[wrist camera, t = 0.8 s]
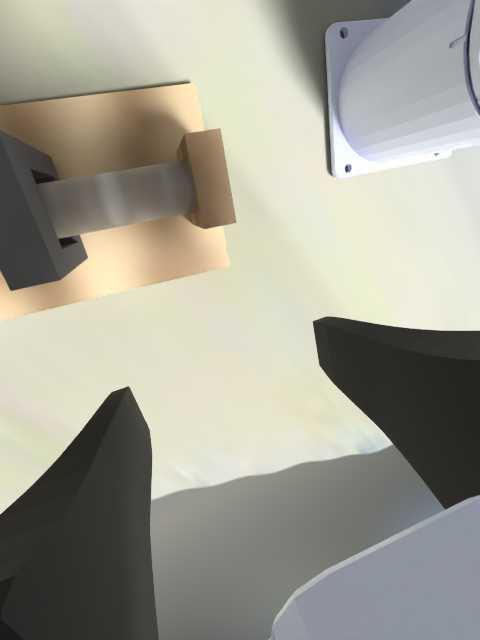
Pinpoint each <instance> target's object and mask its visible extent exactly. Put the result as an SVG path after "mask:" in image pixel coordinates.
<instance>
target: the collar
mask: <svg viewBox="0 0 480 640" xmlns="http://www.w3.org/2000/svg"><path fill="white" fill-rule="evenodd" d="M58 180H59V178H58V175H57V172H56V169H55V167H54V164H53V161H52V159H51V156H49V155H47V154H45V153H43V152H41V151H39V150H37V149H35V148H33V147H32V146H30V145H28V144H26V143H24V142H22V141H20V140H18V139H16V138H14V137H12V136H10V135H8V134H6V133H5V132H3V131H1V130H0V271H1V273H2V275H3V277H4V279H5V281H6V283H7V285H8V287H9V289H10V291H14V290H18V289H23V288H27V287H32V286H36V285H41V284H45V283H50V282H55V281H59V280H61V279H62V278H64V277H65V276H66V275H68V274H69V273H70V272H71V271H73V270H74V269H75V268H76V267H78V266H79V265H80V264H81V263H83V262H84V261H85V260H86V259H88V256H87V253H86V250H85V248H84V245H83V242H82V239H81V237H80V235H75V236H70V237H65V238H60V239H58V237H57V235H56V232H55V230H54V227H53V225H52V222H51V220H50V217H49V215H48V212H47V210H46V207H45V205H44V202H43V200H42V197H41V195H40V192H39V190H38V187H37V185H36V184H40V183H46V182H52V181H58Z"/></svg>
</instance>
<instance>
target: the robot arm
mask: <svg viewBox="0 0 480 640" xmlns="http://www.w3.org/2000/svg"><path fill="white" fill-rule="evenodd" d="M340 31H342V32H343V33H344V39H343V38H342V37H341V36H340ZM325 44H326V64H327V84H328V104H329V124H330V144H331V164H332V174H333V176H334V177H335V178H344V177H349V176H355V175H360V174H365V173H370V172H375V171H380V170H386V169H391V168H396V167H401V166H406V165H411V164H417V163H422V162H427V161H432V160H437V159H442V158H447V157H449V156H450V155H451V154H452V152H453V150H455V149H461V148H466V147H471V146H476V145H480V0H411V1H410V2H409V3H407V4H406V5H405V6H404V7H402V8H401V9H400V10H399V11H397V12H396V13H395V14H394V15H392V16H391V17H390V18H383V19H371V20H360V21H348V22H337V23H333V24H332V25H331V26H330V27H329V28H328V29H327V31H326V34H325ZM346 165H347V166H348V171H347V173H346V171H345V166H346ZM313 326H314V333H315V339H316V345H317V352H318V358H319V365H320V366H321V368H322V369H323V370H324V372H325V373H326V375H327V376H328V377H329V378H330V380H331V381H332V382H333V383H334V384H335V385H336V386H337V387H338V388H339V389H340V390H341V391H342V392H343V393H344V394H345V395H346V396H347V397H348V398H349V399H350V400H351V401H352V402H353V403H354V404H355V405H356V406H357V407H358V408H359V409H361V410H362V411H363V412H364V413H365V414H366V415H367V416H368V417H369V418H370V419H371V420H372V421H373V422H374V423H375V424H376V425H377V426H378V427H379V428H380V429H381V430H382V431H383V432H384V433H385V435H386V436H387V437H388V438H389V439H390V440H391V442H392V443H393V444H394V445H395V446H396V447H397V449H398V450H399V451H400V452H401V453H402V454H403V456H404V457H405V458H406V460H407V461H408V462H409V463H410V464H411V466H412V467H413V468H414V469H415V471H416V472H417V473H418V474H419V476H420V477H421V478H422V479H423V481H424V482H425V483H426V485H427V486H428V487H429V488H430V490H431V491H432V493H433V494H434V495H435V496H436V498H437V499H438V500H439V502H440V503H441V504H442V506H443V507H444V508H445V510H444V511H442V512H440V513H438V514H436V515H434V516H432V517H430V518H428V519H426V520H424V521H422V522H420V523H418V524H416V525H414V526H412V527H410V528H408V529H406V530H404V531H402V532H400V533H398V534H396V535H394V536H392V537H390V538H388V539H386V540H384V541H382V542H380V543H378V544H376V545H374V546H372V547H370V548H368V549H366V550H364V551H362V552H360V553H358V554H356V555H354V556H352V557H350V558H348V559H346V560H344V561H342V562H340V563H338V564H336V565H334V566H332V567H330V568H328V569H326V570H325V571H323V572H322V573H320V574H319V575H318V576H316V577H315V578H313V579H312V580H310V581H309V582H308V583H306V584H305V585H303V586H302V587H300V588H299V589H297V590H296V591H295V592H294V594H293V595H292V596H291V598H290V599H289V600H288V601H287V603H286V604H285V606H284V607H283V608H282V609H281V611H280V612H279V613H278V615H277V616H276V618H275V621H274V624H273V627H272V636H271V638H270V639H268V640H480V331H437V330H421V329H409V328H401V327H393V326H386V325H379V324H373V323H367V322H362V321H356V320H350V319H345V318H338V317H324V318H321V319H318V320H315V321H313ZM151 478H152V448H151V438H150V430H149V428H148V425H147V423H146V421H145V419H144V417H143V415H142V413H141V411H140V409H139V406H138V404H137V402H136V400H135V398H134V396H133V394H132V392H131V389H130V387H129V386H128V387H125V388H123V389H120V390H117V391H114V392H112V393H111V394H110V395H109V396H108V397H107V398H106V399H105V401H104V402H103V403H102V405H101V406H100V407H99V409H98V410H97V411H96V412H95V414H94V415H93V416H92V418H91V419H90V420H89V422H88V423H87V424H86V425H85V427H84V428H83V429H82V431H81V432H80V433H79V434H78V436H77V437H76V438H75V439H74V440H73V441H72V443H71V444H70V445H69V446H68V447H67V449H66V450H65V451H64V452H63V453H62V455H61V456H60V457H59V458H58V459H57V460H56V461H55V462H54V463H53V465H52V466H51V467H50V468H49V469H48V470H47V471H46V472H45V473H44V474H43V475H42V476H41V477H40V478H39V479H38V480H37V481H36V482H35V483H34V484H33V485H32V486H31V487H30V488H29V489H28V490H27V491H26V492H25V493H24V494H23V495H22V496H20V497H19V498H18V499H17V500H16V501H15V502H14V503H13V504H12V505H10V506H9V507H8V508H7V509H6V510H5V511H4V512H3V513H2V514H0V640H159V638H158V628H157V618H156V608H155V596H154V585H153V572H152V558H151V542H150V503H151Z"/></svg>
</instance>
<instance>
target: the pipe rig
mask: <svg viewBox="0 0 480 640" xmlns="http://www.w3.org/2000/svg"><path fill="white" fill-rule="evenodd" d="M0 130H1V131H3V132H5V133H6V134H8V135H10V136H12V137H14V138H16V139H18V140H20V141H22V142H24V143H26V144H28V145H30V146H32V147H33V148H35V149H37V150H39V151H41V152H43V153H45V154H47V155H49V156H51V159H52V161H53V164H54V167H55V169H56V172H57V175H58V178H59V180H58V181H52V182H46V183H40V184H36V185H37V187H38V190H39V192H40V195H41V197H42V200H43V202H44V205H45V207H46V210H47V212H48V215H49V217H50V220H51V222H52V225H53V227H54V230H55V232H56V235H57V237H58V239H60V238H65V237H70V236H75V235H80V237H81V239H82V242H83V245H84V248H85V250H86V253H87V256H88V259H86V260H85V261H84V262H83V263H81V264H80V265H79V266H78V267H76V268H75V269H74V270H73V271H71V272H70V273H69V274H68V275H66V276H65V277H64V278H62V279H61V280H59V281H55V282H50V283H45V284H41V285H36V286H32V287H27V288H23V289H18V290H14V291H10V289H9V287H8V285H7V283H6V281H5V279H4V277H3V275H2V273H1V271H0V320H4V319H9V318H13V317H17V316H21V315H25V314H30V313H34V312H38V311H42V310H47V309H51V308H55V307H59V306H64V305H68V304H72V303H76V302H80V301H85V300H89V299H93V298H97V297H102V296H106V295H110V294H114V293H119V292H123V291H127V290H131V289H135V288H140V287H144V286H148V285H152V284H157V283H161V282H165V281H169V280H174V279H178V278H182V277H186V276H190V275H195V274H199V273H203V272H207V271H212V270H216V269H220V268H224V267H228V266H230V262H229V257H228V251H227V246H226V241H225V236H224V230H223V225H228V224H232V223H236V217H235V211H234V206H233V200H232V194H231V188H230V182H229V176H228V171H227V165H226V159H225V153H224V147H223V141H222V136H221V130H220V129H213V130H206V131H205V130H204V125H203V119H202V114H201V109H200V103H199V98H198V93H197V88H196V83H190V84H181V85H172V86H164V87H155V88H147V89H138V90H130V91H121V92H112V93H104V94H95V95H87V96H78V97H70V98H61V99H53V100H44V101H35V102H27V103H18V104H10V105H1V106H0Z"/></svg>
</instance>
